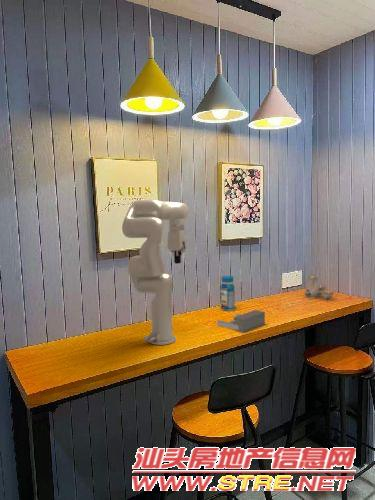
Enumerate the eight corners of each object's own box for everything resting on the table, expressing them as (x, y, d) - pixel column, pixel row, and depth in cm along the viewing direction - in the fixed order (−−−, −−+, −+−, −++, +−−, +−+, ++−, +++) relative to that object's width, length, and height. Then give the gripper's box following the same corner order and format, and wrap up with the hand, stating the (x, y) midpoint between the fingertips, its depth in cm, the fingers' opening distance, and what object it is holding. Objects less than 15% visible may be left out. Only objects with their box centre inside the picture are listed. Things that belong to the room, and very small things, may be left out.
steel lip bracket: (243, 332, 179) (243, 319, 178) (216, 325, 192) (215, 313, 191) (264, 324, 191) (264, 312, 191) (237, 318, 204) (237, 306, 203)
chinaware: (337, 303, 234) (340, 277, 233) (311, 302, 234) (314, 276, 233) (321, 294, 262) (323, 271, 261) (298, 292, 262) (300, 269, 260)
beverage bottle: (234, 311, 218) (233, 277, 216) (220, 311, 220) (219, 277, 218) (235, 307, 226) (235, 275, 224) (221, 307, 228) (221, 275, 226)
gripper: (161, 228, 197) (163, 263, 199) (181, 229, 187) (182, 265, 188) (172, 228, 203) (173, 261, 204) (191, 228, 192) (192, 263, 194)
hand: (177, 263), depth 196 cm, fingers closed
